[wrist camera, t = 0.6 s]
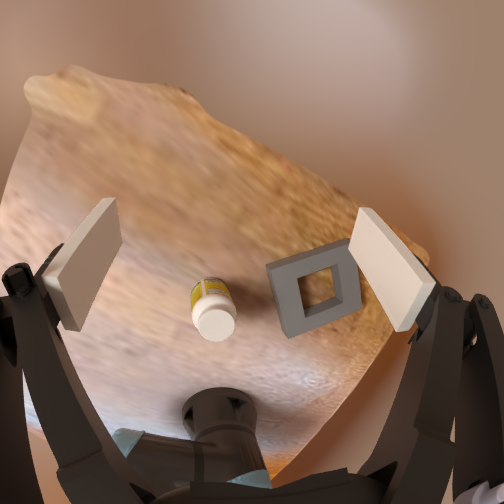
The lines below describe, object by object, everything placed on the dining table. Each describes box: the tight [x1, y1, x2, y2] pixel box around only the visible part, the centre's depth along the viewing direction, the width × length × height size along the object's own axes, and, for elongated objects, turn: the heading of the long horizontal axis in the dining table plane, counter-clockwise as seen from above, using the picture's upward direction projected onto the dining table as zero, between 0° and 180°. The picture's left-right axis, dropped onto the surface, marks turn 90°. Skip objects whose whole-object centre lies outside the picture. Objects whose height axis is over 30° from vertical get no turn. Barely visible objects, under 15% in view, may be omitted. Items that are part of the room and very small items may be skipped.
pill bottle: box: [191, 278, 237, 342], centre depth 39 cm, size 6×6×11 cm
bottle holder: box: [266, 238, 362, 339], centre depth 47 cm, size 13×15×3 cm
